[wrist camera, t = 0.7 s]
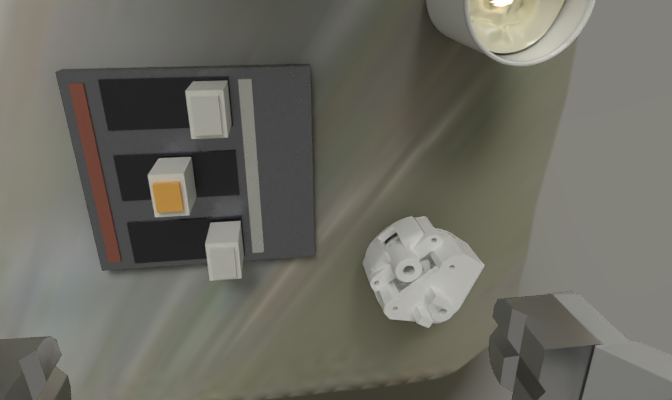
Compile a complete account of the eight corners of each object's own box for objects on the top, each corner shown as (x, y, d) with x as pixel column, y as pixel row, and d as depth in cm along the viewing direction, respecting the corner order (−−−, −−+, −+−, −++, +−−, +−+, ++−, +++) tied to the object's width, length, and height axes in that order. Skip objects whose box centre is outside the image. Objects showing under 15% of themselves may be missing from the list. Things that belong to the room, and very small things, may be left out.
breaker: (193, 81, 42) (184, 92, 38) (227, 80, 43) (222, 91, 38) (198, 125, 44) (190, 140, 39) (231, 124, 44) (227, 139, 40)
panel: (62, 69, 42) (54, 72, 41) (309, 63, 45) (310, 66, 43) (106, 263, 50) (101, 271, 49) (313, 249, 53) (315, 256, 51)
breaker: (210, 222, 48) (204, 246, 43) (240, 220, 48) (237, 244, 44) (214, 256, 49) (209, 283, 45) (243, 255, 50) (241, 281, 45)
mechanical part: (399, 309, 58) (430, 381, 47) (339, 245, 53) (357, 309, 42) (475, 254, 56) (525, 316, 45) (420, 183, 51) (459, 234, 41)
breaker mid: (158, 158, 45) (145, 177, 40) (191, 156, 45) (182, 175, 40) (164, 197, 46) (153, 220, 42) (196, 195, 47) (188, 218, 42)
